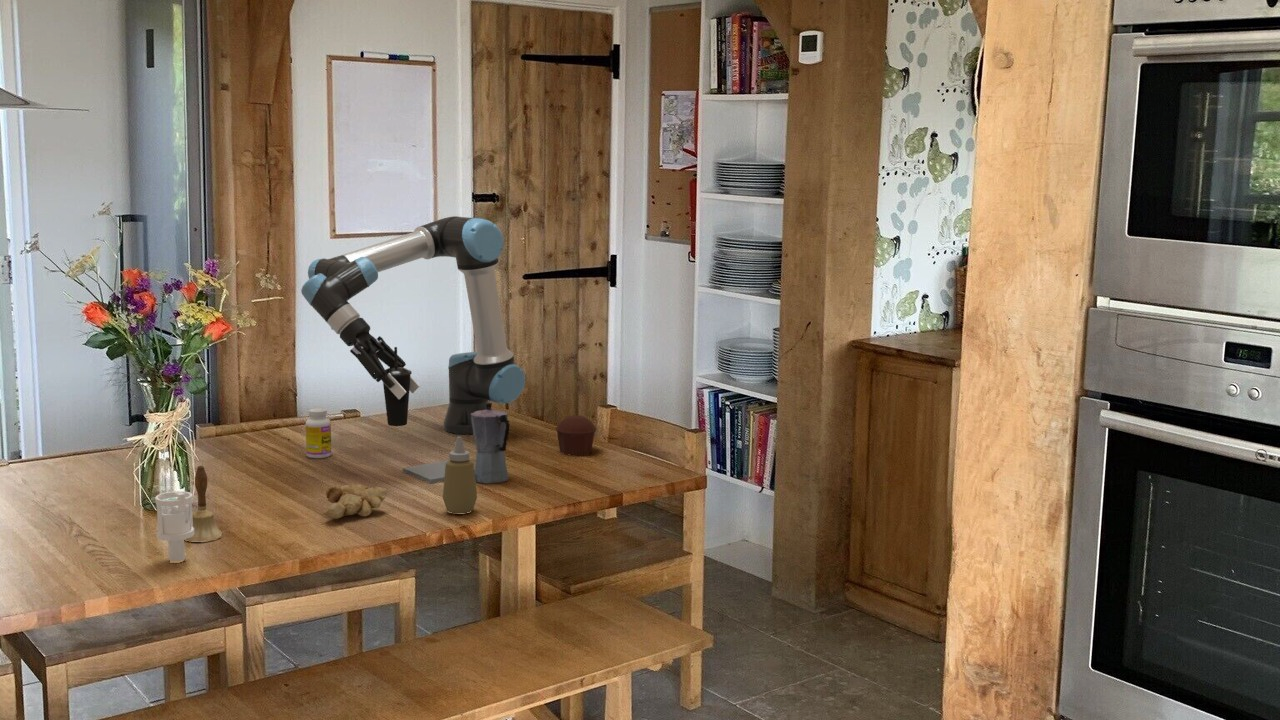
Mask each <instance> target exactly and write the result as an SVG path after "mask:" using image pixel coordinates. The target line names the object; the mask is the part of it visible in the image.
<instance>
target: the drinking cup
mask: <svg viewBox="0 0 1280 720" xmlns="http://www.w3.org/2000/svg"><path fill="white" fill-rule="evenodd" d="M393 351H394V353H395V367H391V368H390V367H388V368H386V369H385V370H386V372H387V374H388V373H390V374H391V376H392V377H394V378H395V379H396V380H397V382H398V383H399V384H400V385H401V386H402V387H403V388H404V389H405V390H406V393H405V394H404V395H403V396H402V397H401V398H400V399H398V398H397V397H396V396H395V395H394V394H393V392H392V391H391V390H390V389H389V388H388V387H387V386H386V385H385V384H384V382H383V381H382V386H383V393H384V404H385V410H386V420H387V425H388V426H390V427H403V426H406V425H407V424H408V415H409V414H408V413H409V401H410V399H409V398H410V390H409V389H410V375H412V372H413V371H412V370H410V369H407V368H405V367H404V368H403V367H398V366H397V355H398V347H397V346H394V350H393ZM387 374H386V375H387Z"/></svg>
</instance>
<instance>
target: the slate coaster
mask: <svg viewBox="0 0 1280 720" xmlns="http://www.w3.org/2000/svg"><path fill="white" fill-rule="evenodd" d="M449 460H450V459H446V460H445V459H444V460H441V461H434V462H430V463H425V464H424V463H423V464H419V465H413V466H406V467H403V468H402V472H403V473H405V474H407V475H409V474H410V476H412V477H414V478H416V479H418V480H421V479H422V481H424V480H425V481H424V482H426V481H427V482H426V483H428V482H429V483H428V484H435V483H434V482H436V483H439V482H438V481H441V482H444V481H443V480H444V476H445V465H446V462H448V461H449ZM474 473H475V469H474Z"/></svg>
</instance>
